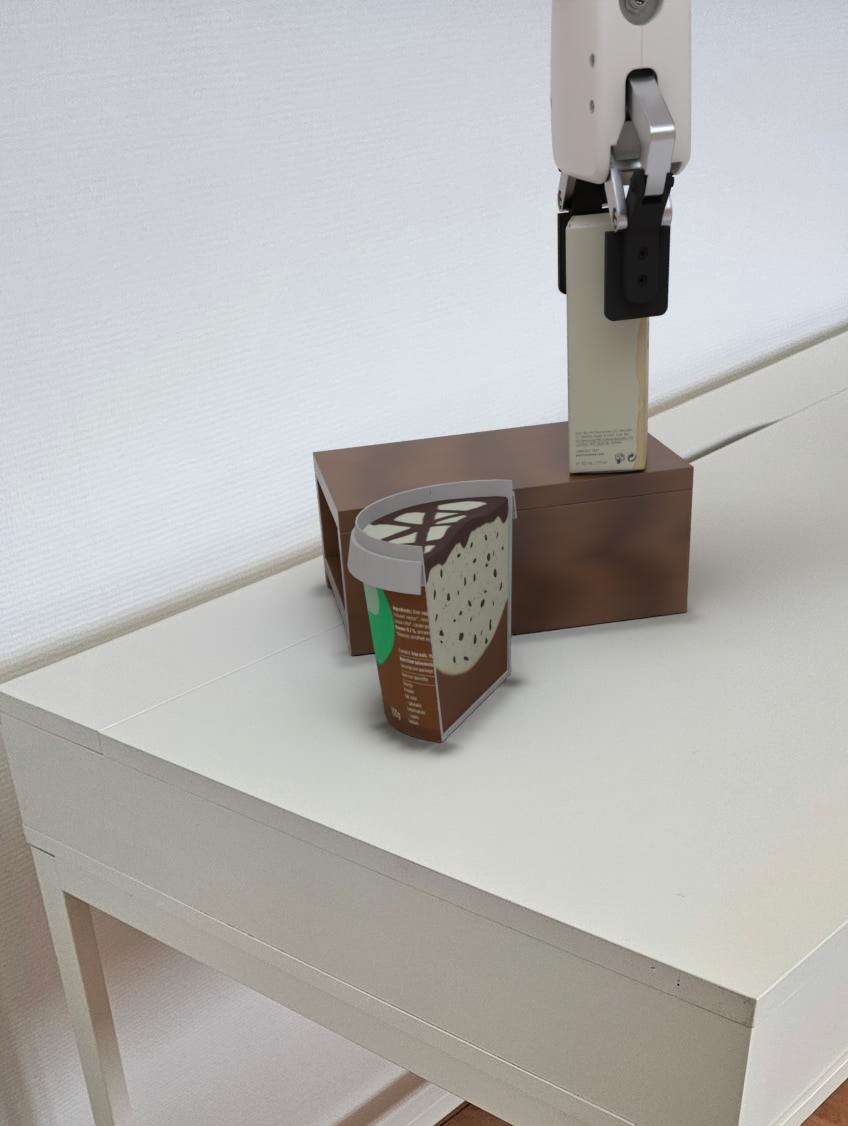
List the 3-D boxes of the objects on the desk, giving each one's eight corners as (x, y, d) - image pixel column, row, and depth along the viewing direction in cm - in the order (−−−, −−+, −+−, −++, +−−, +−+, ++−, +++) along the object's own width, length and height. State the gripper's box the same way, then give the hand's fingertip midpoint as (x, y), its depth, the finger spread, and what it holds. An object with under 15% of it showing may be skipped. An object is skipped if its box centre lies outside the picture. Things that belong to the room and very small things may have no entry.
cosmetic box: (645, 473, 78) (653, 220, 71) (564, 476, 78) (563, 227, 71) (647, 444, 83) (654, 205, 76) (571, 448, 83) (571, 212, 76)
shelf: (621, 544, 94) (623, 413, 89) (687, 612, 83) (694, 466, 78) (325, 582, 93) (312, 452, 88) (351, 656, 82) (337, 511, 77)
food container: (420, 654, 81) (408, 472, 75) (520, 663, 78) (516, 476, 73) (320, 740, 72) (298, 543, 66) (429, 754, 70) (416, 550, 64)
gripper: (757, -130, 59) (732, 320, 69) (639, -95, 73) (632, 275, 83) (583, -112, 59) (582, 338, 69) (498, -80, 73) (507, 290, 83)
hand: (609, 303), depth 76 cm, fingers open, 9 cm apart
